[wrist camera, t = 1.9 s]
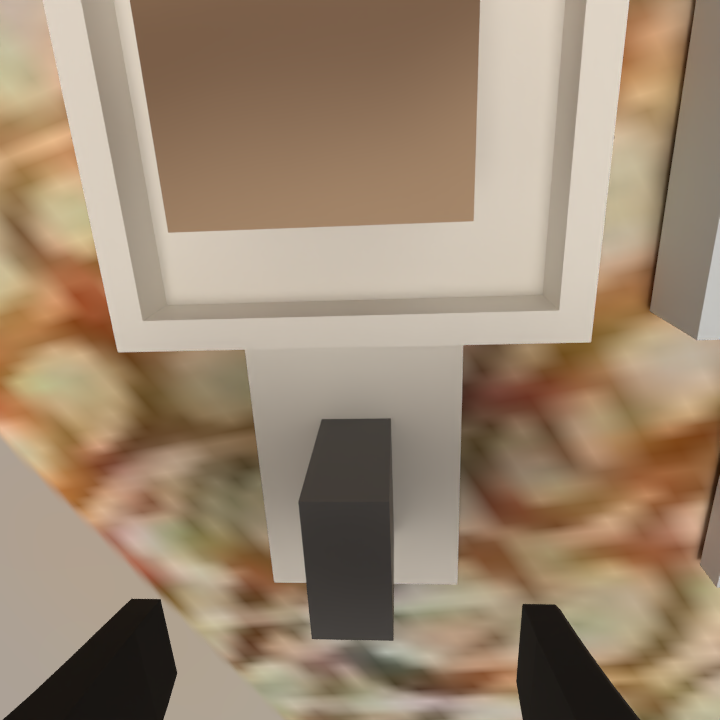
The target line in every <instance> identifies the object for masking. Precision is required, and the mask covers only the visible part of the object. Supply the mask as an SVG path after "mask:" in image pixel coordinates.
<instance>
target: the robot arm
mask: <svg viewBox="0 0 720 720" xmlns="http://www.w3.org/2000/svg"><path fill="white" fill-rule="evenodd" d="M176 675H177V671H176V666H175V662H174V657H173V653H172V648H171V644H170V640H169V635H168V631H167V626H166V622H165V618H164V613H163V609H162V604H161V599H131V600H130V601H129V602H128V603H127V604H126V605H125V606H124V607H122V608H121V609H120V610H119V611H118V612H117V613H116V614H115V615H114V616H113V617H112V618H111V619H110V620H109V621H108V622H107V623H106V624H105V625H104V626H103V627H102V628H101V629H100V630H99V631H97V632H96V633H95V634H94V635H93V636H92V637H91V638H90V639H89V640H88V641H87V642H86V643H85V644H84V645H83V646H82V647H81V648H80V649H79V650H78V651H77V652H76V653H75V654H74V655H73V656H72V657H71V658H70V659H69V660H68V661H66V662H65V663H64V664H63V665H62V666H61V667H60V668H59V669H58V670H57V671H56V672H55V673H54V674H53V675H52V676H51V677H49V679H47V680H46V681H45V682H44V683H43V684H42V685H41V686H40V687H39V688H38V689H37V690H36V691H35V692H33V693H32V694H31V695H30V696H29V697H28V698H27V699H26V700H25V701H23V702H22V703H21V704H20V705H19V706H18V707H17V708H16V709H15V710H13V711H12V712H11V713H10V714H9V715H8V716H7V717H5V718H4V719H3V720H163V719H164V715H165V712H166V709H167V706H168V703H169V699H170V696H171V693H172V689H173V686H174V682H175V679H176ZM516 682H517V688H518V694H519V700H520V706H521V712H522V717H523V720H640V719H639V718H638V717H637V715H636V714H635V713H634V711H633V710H632V709H631V708H630V706H629V705H628V704H627V702H626V701H625V700H624V699H623V697H622V696H621V695H620V693H619V692H618V691H617V690H616V688H615V687H614V686H613V684H612V683H611V682H610V680H609V679H608V678H607V676H606V675H605V674H604V672H603V671H602V669H601V668H600V667H599V665H598V664H597V663H596V661H595V660H594V658H593V657H592V656H591V654H590V653H589V651H588V650H587V649H586V647H585V646H584V644H583V643H582V641H581V640H580V638H579V637H578V636H577V634H576V633H575V631H574V630H573V628H572V627H571V625H570V624H569V622H568V621H567V619H566V618H565V616H564V615H563V613H562V611H561V610H560V609H559V608H558V607H557V606H556V605H546V604H523V606H522V618H521V631H520V643H519V655H518V668H517V680H516Z"/></svg>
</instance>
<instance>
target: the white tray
mask: <svg viewBox="0 0 720 720" xmlns="http://www.w3.org/2000/svg"><path fill="white" fill-rule="evenodd" d="M43 5H44V10H45V14H46V19H47V24H48V28H49V33H50V38H51V42H52V47H53V52H54V56H55V61H56V66H57V70H58V75H59V80H60V84H61V89H62V94H63V98H64V103H65V108H66V112H67V117H68V122H69V126H70V131H71V136H72V140H73V145H74V150H75V154H76V159H77V164H78V168H79V173H80V178H81V182H82V187H83V192H84V196H85V201H86V206H87V210H88V215H89V220H90V224H91V229H92V234H93V238H94V243H95V248H96V252H97V257H98V262H99V266H100V271H101V276H102V281H103V285H104V290H105V295H106V299H107V304H108V309H109V313H110V318H111V323H112V327H113V332H114V337H115V341H116V346H117V351H118V352H156V351H203V350H245V355H246V363H247V371H248V379H249V387H250V395H251V403H252V410H253V418H254V426H255V434H256V442H257V450H258V458H259V466H260V474H261V482H262V490H263V498H264V506H265V514H266V521H267V529H268V537H269V545H270V553H271V561H272V569H273V577H274V582H276V583H306V584H307V594H308V604H309V614H310V624H311V634H312V639H336V640H389V641H393V626H394V584H454V585H457V582H458V541H459V500H460V459H461V418H462V378H463V345H488V344H536V343H583V342H591V338H592V329H593V320H594V311H595V302H596V293H597V284H598V275H599V266H600V257H601V249H602V240H603V231H604V222H605V213H606V204H607V195H608V186H609V177H610V168H611V159H612V150H613V141H614V133H615V124H616V115H617V106H618V97H619V88H620V79H621V70H622V61H623V52H624V43H625V34H626V25H627V17H628V8H629V0H480V23H479V57H478V91H477V126H476V160H475V194H474V221H466V222H440V223H413V224H387V225H360V226H334V227H307V228H281V229H254V230H228V231H201V232H175V233H168V228H167V222H166V216H165V210H164V204H163V198H162V192H161V186H160V180H159V174H158V168H157V162H156V156H155V150H154V144H153V138H152V132H151V126H150V120H149V114H148V108H147V102H146V96H145V89H144V83H143V77H142V71H141V65H140V59H139V53H138V47H137V41H136V35H135V29H134V23H133V17H132V11H131V5H130V0H43Z"/></svg>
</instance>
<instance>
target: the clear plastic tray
mask: <svg viewBox="0 0 720 720" xmlns="http://www.w3.org/2000/svg"><path fill="white" fill-rule="evenodd" d="M650 312H652V313H653V314H655V315H657V316H658V317H660V318H662V319H663V320H665V321H667V322H668V323H670V324H671V325H673V326H675V327H676V328H678V329H680V330H681V331H683V332H684V333H686V334H688V335H689V336H691V337H693V338H694V339H696V340H720V0H696V5H695V12H694V19H693V25H692V32H691V39H690V45H689V52H688V59H687V65H686V72H685V79H684V86H683V92H682V99H681V106H680V112H679V119H678V126H677V132H676V139H675V146H674V153H673V159H672V166H671V173H670V179H669V186H668V193H667V199H666V206H665V213H664V220H663V226H662V233H661V240H660V246H659V253H658V260H657V266H656V273H655V280H654V287H653V293H652V300H651V307H650ZM700 566H701V567H702V568H703V570H704V571H705V572H706V574H707V575H708V576H709V578H710V579H711V580H712V582H713V583H714V584H715V586H716V587H720V476H719V480H718V485H717V489H716V494H715V498H714V503H713V507H712V512H711V516H710V521H709V526H708V530H707V535H706V539H705V544H704V548H703V553H702V557H701V562H700Z"/></svg>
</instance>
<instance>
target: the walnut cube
mask: <svg viewBox="0 0 720 720" xmlns="http://www.w3.org/2000/svg"><path fill="white" fill-rule="evenodd" d="M130 5H131V11H132V17H133V23H134V29H135V35H136V41H137V47H138V53H139V59H140V65H141V71H142V77H143V83H144V89H145V96H146V102H147V108H148V114H149V120H150V126H151V132H152V138H153V144H154V150H155V156H156V162H157V168H158V174H159V180H160V186H161V192H162V198H163V204H164V210H165V216H166V222H167V228H168V233H175V232H201V231H228V230H254V229H281V228H307V227H334V226H360V225H387V224H413V223H440V222H466V221H474V194H475V160H476V126H477V91H478V57H479V23H480V0H130Z"/></svg>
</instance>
